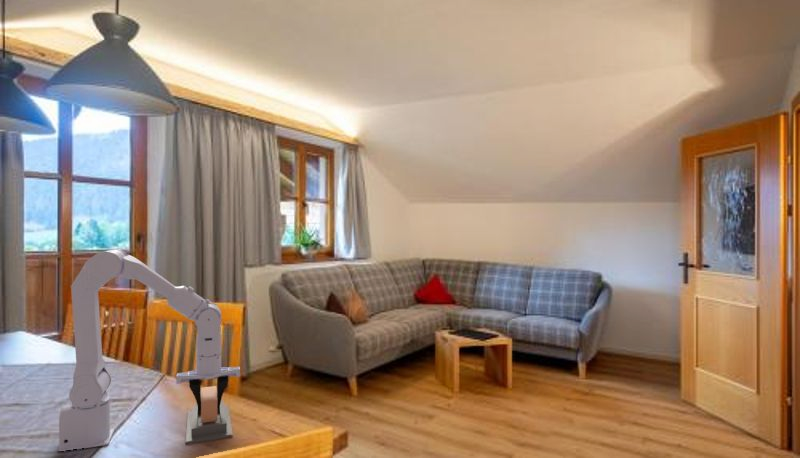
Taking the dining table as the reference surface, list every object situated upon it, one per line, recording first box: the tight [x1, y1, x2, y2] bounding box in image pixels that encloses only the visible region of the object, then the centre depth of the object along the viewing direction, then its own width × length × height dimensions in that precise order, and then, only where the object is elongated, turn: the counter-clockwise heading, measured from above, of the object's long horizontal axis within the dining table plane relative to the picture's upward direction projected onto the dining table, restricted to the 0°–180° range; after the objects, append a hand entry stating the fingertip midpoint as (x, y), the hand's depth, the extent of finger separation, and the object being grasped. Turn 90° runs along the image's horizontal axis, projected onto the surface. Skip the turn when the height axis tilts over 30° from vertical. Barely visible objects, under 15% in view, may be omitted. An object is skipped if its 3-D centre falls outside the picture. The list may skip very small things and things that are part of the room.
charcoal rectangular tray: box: [185, 400, 233, 445], centre depth 117 cm, size 10×18×3 cm, turn 23°
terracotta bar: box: [200, 385, 217, 423], centre depth 117 cm, size 4×10×5 cm, turn 23°
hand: (209, 407), depth 117 cm, fingers closed on terracotta bar, 4 cm apart
